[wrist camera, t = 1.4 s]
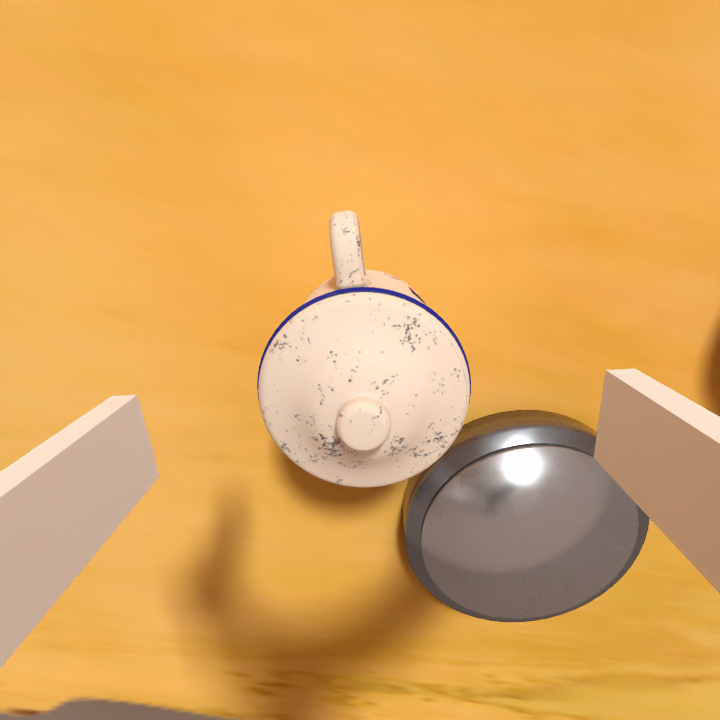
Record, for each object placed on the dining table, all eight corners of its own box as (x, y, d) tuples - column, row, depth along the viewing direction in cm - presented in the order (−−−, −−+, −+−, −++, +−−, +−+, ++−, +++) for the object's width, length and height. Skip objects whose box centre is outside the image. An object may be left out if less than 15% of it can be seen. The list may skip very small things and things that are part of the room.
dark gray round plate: (405, 596, 32) (409, 632, 29) (398, 416, 27) (402, 440, 24) (610, 588, 32) (634, 624, 29) (642, 403, 26) (676, 425, 24)
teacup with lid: (441, 396, 26) (496, 522, 15) (305, 412, 27) (263, 544, 16) (428, 202, 23) (488, 184, 12) (269, 224, 23) (180, 227, 12)
